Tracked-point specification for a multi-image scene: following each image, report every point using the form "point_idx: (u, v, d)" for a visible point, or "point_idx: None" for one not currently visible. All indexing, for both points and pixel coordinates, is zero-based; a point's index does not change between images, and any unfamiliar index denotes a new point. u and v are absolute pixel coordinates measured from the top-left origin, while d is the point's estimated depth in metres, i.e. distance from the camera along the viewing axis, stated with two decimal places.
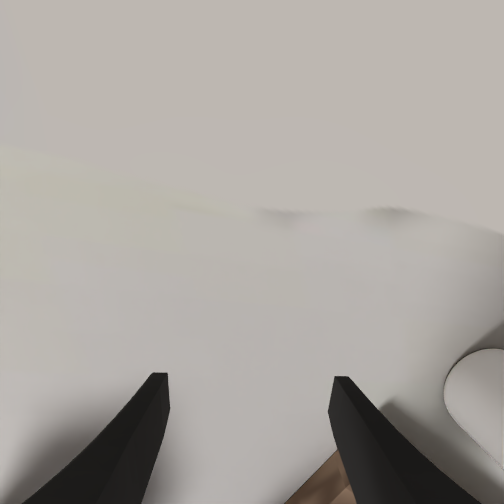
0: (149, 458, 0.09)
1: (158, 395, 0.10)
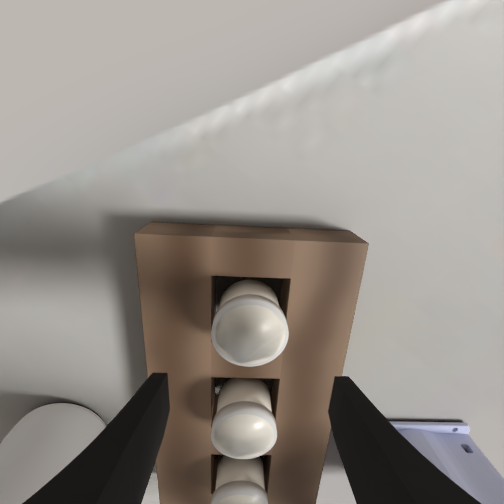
0: (149, 458, 0.09)
1: (158, 395, 0.10)
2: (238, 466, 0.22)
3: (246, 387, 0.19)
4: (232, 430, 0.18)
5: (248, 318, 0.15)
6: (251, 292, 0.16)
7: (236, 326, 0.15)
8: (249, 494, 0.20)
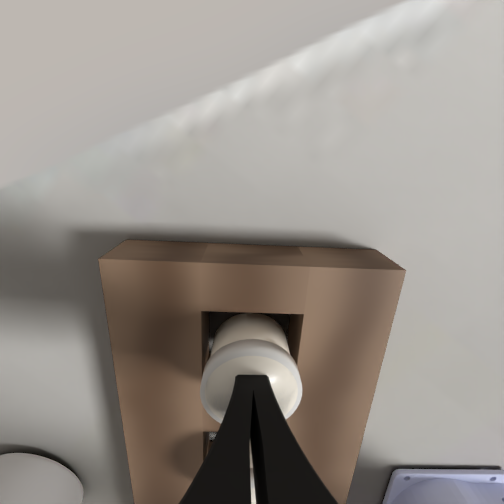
0: None
1: (252, 397, 0.10)
2: None
3: None
4: None
5: (249, 372, 0.11)
6: (253, 334, 0.12)
7: (233, 382, 0.11)
8: None
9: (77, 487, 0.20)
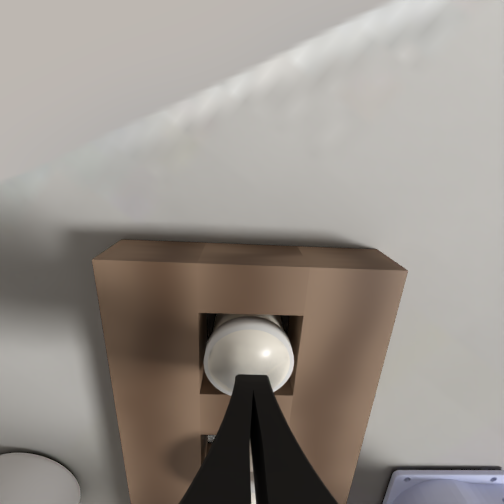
0: None
1: (252, 397, 0.10)
2: None
3: None
4: None
5: (247, 345, 0.13)
6: None
7: (233, 354, 0.13)
8: None
9: (75, 489, 0.20)
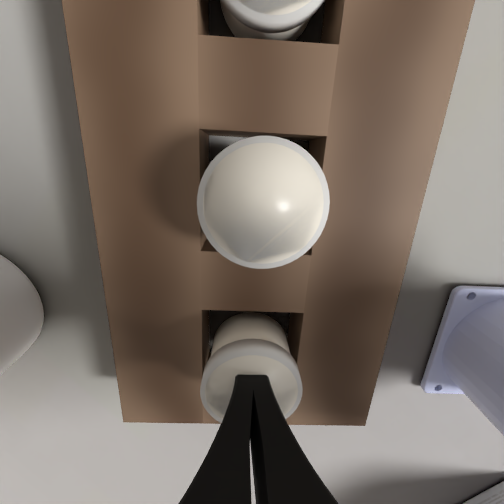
0: None
1: (252, 397, 0.10)
2: (248, 327, 0.13)
3: None
4: (239, 188, 0.09)
5: None
6: None
7: None
8: (269, 355, 0.11)
9: (35, 299, 0.15)
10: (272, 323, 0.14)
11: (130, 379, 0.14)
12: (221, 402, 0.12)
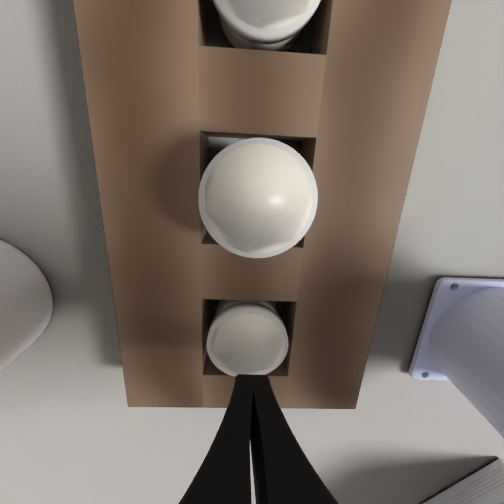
0: None
1: (252, 397, 0.10)
2: None
3: None
4: (237, 185, 0.10)
5: None
6: None
7: None
8: (261, 314, 0.14)
9: (46, 290, 0.16)
10: None
11: (134, 365, 0.15)
12: (223, 353, 0.15)
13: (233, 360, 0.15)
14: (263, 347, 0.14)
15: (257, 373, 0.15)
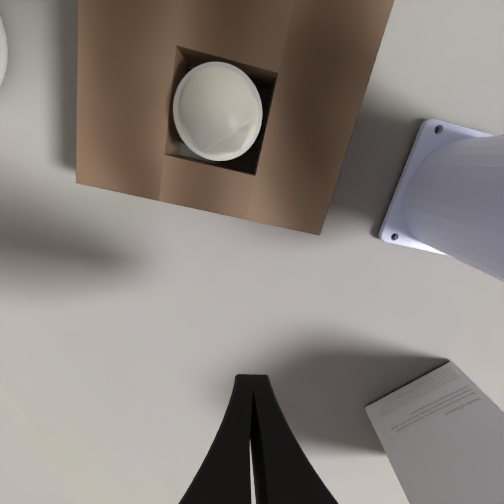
0: None
1: (252, 397, 0.10)
2: None
3: None
4: None
5: None
6: None
7: None
8: (238, 71, 0.13)
9: (1, 37, 0.14)
10: None
11: (90, 125, 0.14)
12: (190, 119, 0.13)
13: (200, 131, 0.13)
14: (234, 120, 0.13)
15: (223, 155, 0.14)
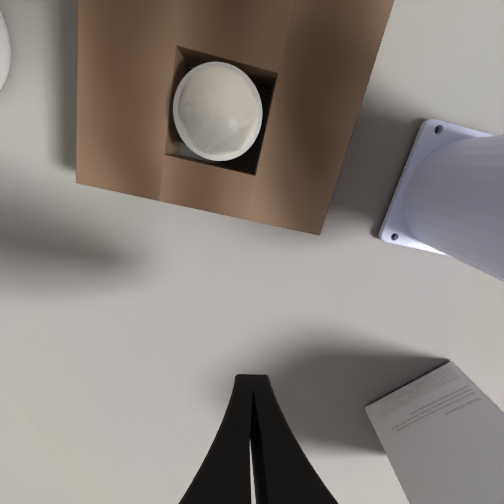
0: None
1: (252, 397, 0.10)
2: None
3: None
4: None
5: None
6: None
7: None
8: (238, 71, 0.13)
9: (5, 39, 0.14)
10: None
11: (90, 125, 0.14)
12: (190, 119, 0.13)
13: (200, 131, 0.13)
14: (234, 120, 0.13)
15: (223, 155, 0.14)
